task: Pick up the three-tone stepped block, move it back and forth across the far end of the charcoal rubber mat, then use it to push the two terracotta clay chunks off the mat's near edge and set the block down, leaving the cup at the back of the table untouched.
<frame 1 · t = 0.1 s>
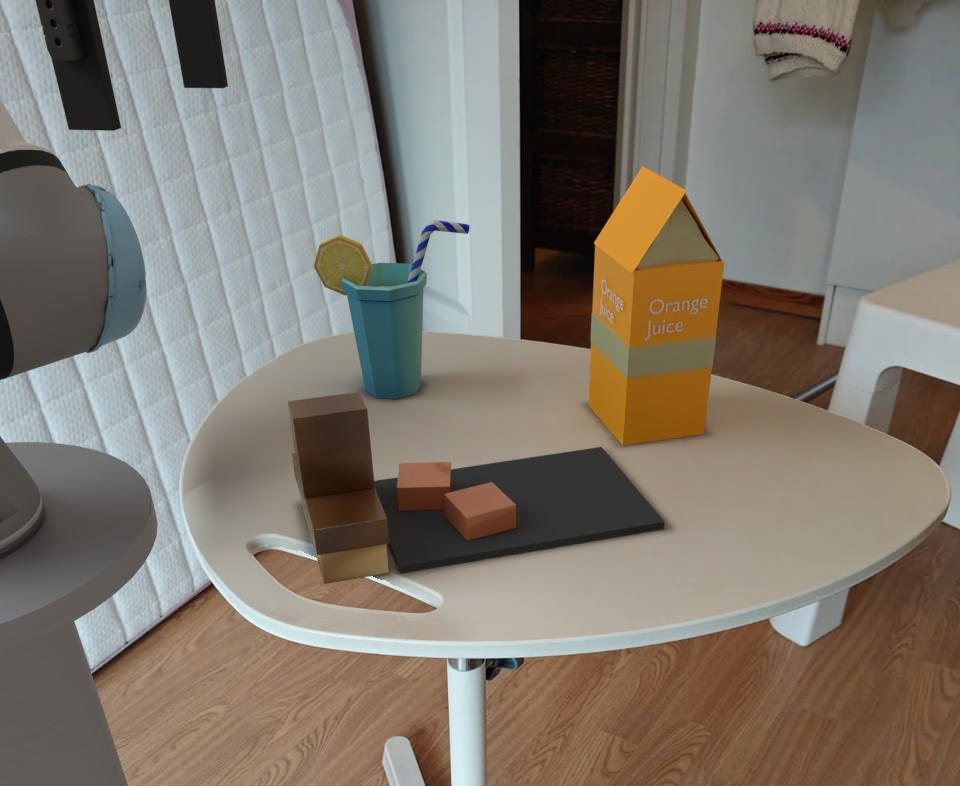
hand: (155, 107, 60), 28 cm above the table, tool pointing down, fingers open, 13 cm apart
cup: (402, 389, 97), on the table
clay chunk B: (425, 497, 78), point 1 cm above the table, touching mat
mat: (509, 507, 78), on the table
three-tone stepped block: (343, 537, 75), on the table
orange juice: (644, 421, 90), on the table
clay chunk A: (480, 522, 75), point 1 cm above the table, touching mat
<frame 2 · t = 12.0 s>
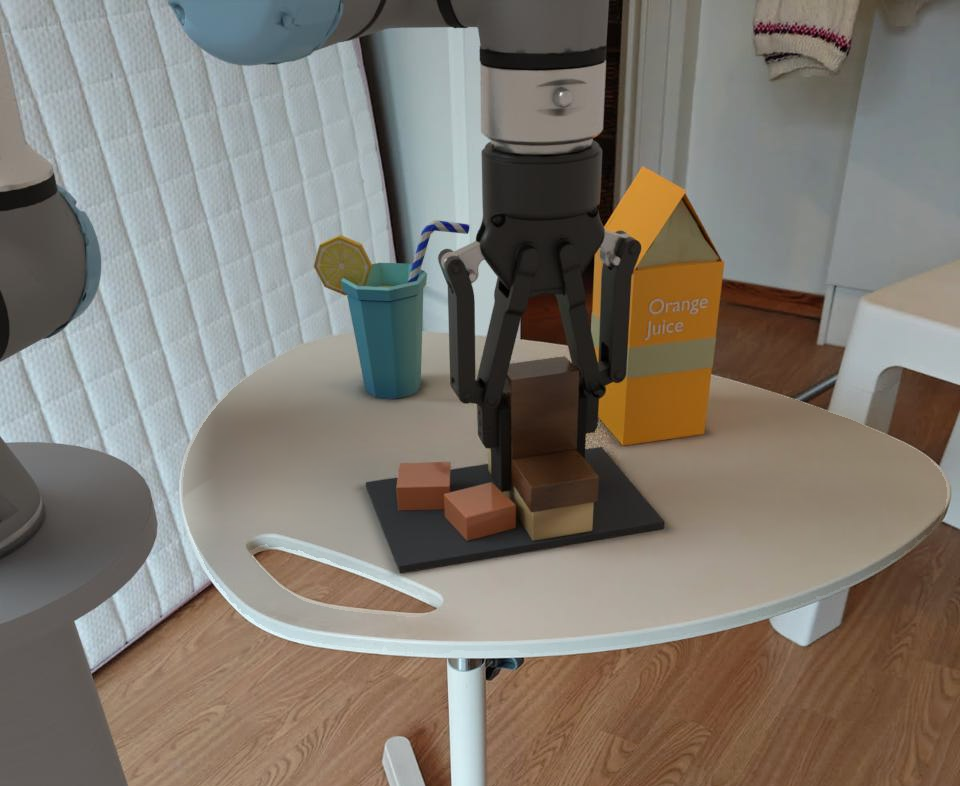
hand: (537, 476, 77), 3 cm above the table, tool pointing down, fingers closed on three-tone stepped block, 5 cm apart
three-tone stepped block: (537, 499, 78), point 1 cm above the table, touching gripper
clay chunk A: (480, 522, 75), point 1 cm above the table, touching gripper, mat
everything else where it was.
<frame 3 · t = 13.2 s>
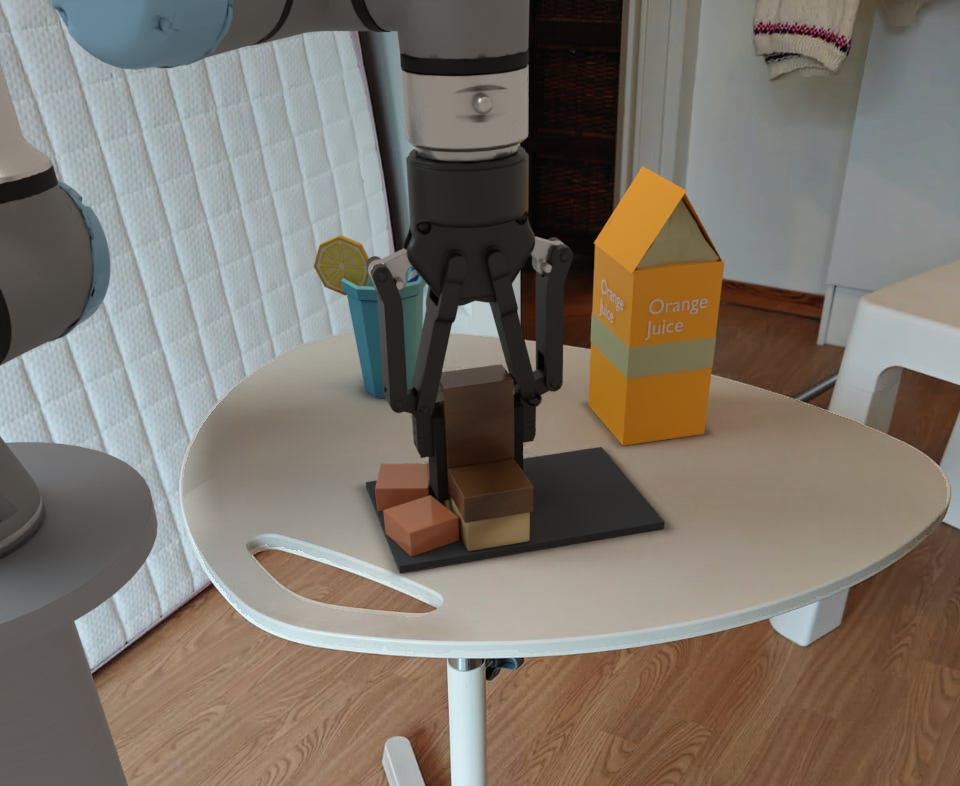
hand: (476, 486, 76), 3 cm above the table, tool pointing down, fingers closed on three-tone stepped block, 5 cm apart
clay chunk B: (405, 498, 78), point 1 cm above the table, touching mat
three-tone stepped block: (477, 508, 77), point 1 cm above the table, touching gripper
clay chunk A: (422, 537, 74), point 1 cm above the table, touching gripper, mat
everything else where it was.
when the fingers open (3 cm above the table, at t = 16.4 s): three-tone stepped block stays where it is, on the table.
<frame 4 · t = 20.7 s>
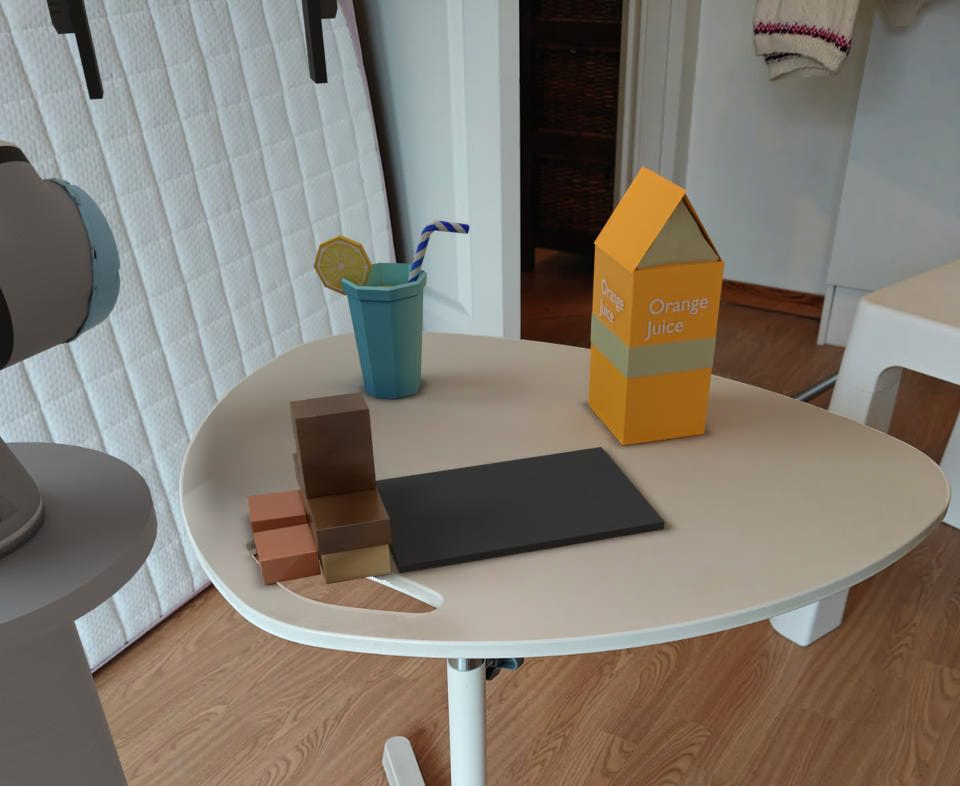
hand: (210, 88, 63), 29 cm above the table, tool pointing down, fingers open, 13 cm apart
clay chunk B: (279, 528, 76), on the table
three-tone stepped block: (344, 538, 75), on the table
clay chunk A: (288, 565, 72), on the table
everything else where it was.
at the end: clay chunk A touching table; clay chunk B touching table; cup moved 0.2 cm from its start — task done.
